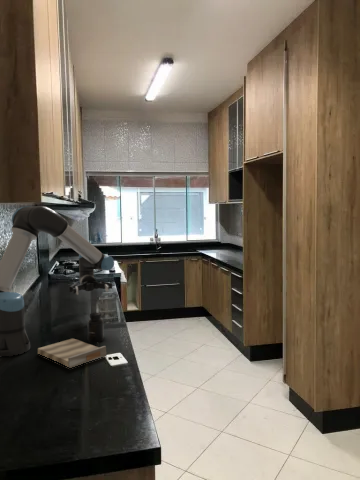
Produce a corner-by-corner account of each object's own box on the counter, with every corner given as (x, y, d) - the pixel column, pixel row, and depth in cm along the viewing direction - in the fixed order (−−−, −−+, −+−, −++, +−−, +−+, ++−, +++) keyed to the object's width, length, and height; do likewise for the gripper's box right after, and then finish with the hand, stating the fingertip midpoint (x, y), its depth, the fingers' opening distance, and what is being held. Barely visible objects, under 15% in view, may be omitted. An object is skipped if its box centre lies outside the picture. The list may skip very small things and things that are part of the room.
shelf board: (37, 354, 152) (37, 344, 152) (72, 344, 164) (72, 334, 164) (70, 369, 137) (70, 358, 137) (106, 356, 149) (106, 346, 149)
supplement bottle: (88, 343, 164) (87, 316, 163) (87, 339, 171) (86, 312, 170) (104, 342, 166) (103, 315, 165) (103, 337, 172) (102, 311, 172)
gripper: (113, 288, 201) (119, 296, 181) (63, 292, 193) (64, 301, 173) (112, 273, 200) (119, 280, 180) (62, 277, 192) (64, 284, 172)
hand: (92, 290), depth 176 cm, fingers open, 13 cm apart
